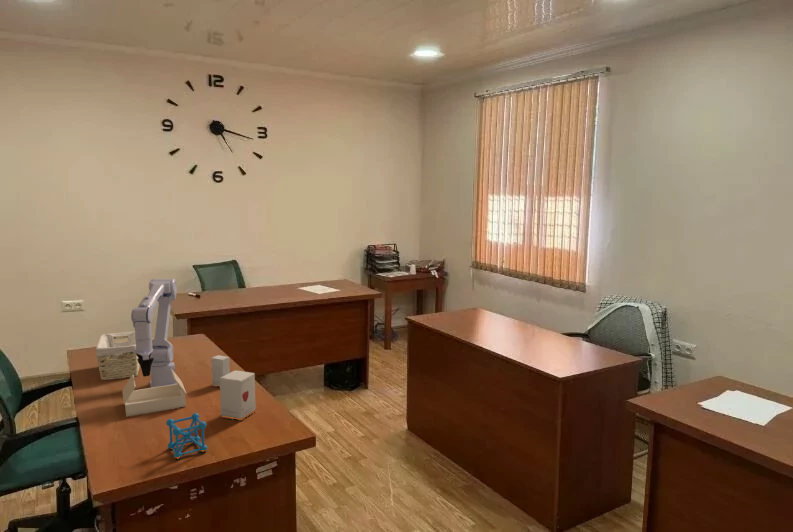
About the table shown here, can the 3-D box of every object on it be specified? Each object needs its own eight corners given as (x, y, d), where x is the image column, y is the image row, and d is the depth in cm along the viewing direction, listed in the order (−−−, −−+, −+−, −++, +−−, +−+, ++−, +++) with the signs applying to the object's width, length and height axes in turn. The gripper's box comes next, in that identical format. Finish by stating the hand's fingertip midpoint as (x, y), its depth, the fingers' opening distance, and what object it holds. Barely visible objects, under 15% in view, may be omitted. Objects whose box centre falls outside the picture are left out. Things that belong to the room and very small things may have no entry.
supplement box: (241, 421, 196) (240, 380, 193) (220, 418, 199) (218, 377, 197) (256, 412, 204) (255, 372, 202) (236, 408, 207) (234, 369, 205)
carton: (181, 394, 220) (180, 383, 220) (185, 407, 208) (185, 395, 207) (124, 403, 211) (123, 391, 210) (126, 417, 199) (125, 405, 198)
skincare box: (230, 384, 231) (229, 356, 229) (223, 388, 227) (222, 359, 225) (219, 382, 234) (218, 354, 232) (212, 385, 230) (210, 357, 228)
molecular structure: (208, 452, 174) (207, 422, 172) (175, 461, 168) (173, 430, 166) (199, 440, 182) (197, 411, 180) (166, 448, 176) (165, 418, 174)
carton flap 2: (180, 382, 220) (181, 381, 220) (185, 394, 207) (186, 394, 208) (170, 368, 217) (171, 368, 217) (174, 380, 205) (175, 379, 205)
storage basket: (139, 377, 239) (137, 344, 236) (96, 382, 233) (94, 348, 230) (142, 361, 261) (140, 330, 258) (103, 365, 255) (100, 333, 252)
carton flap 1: (133, 374, 211) (132, 374, 211) (135, 386, 199) (134, 386, 199) (123, 391, 210) (122, 390, 210) (124, 404, 198) (123, 404, 198)
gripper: (131, 335, 217) (133, 368, 219) (132, 344, 204) (135, 380, 206) (150, 332, 220) (152, 366, 222) (153, 342, 207) (156, 377, 209)
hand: (145, 372), depth 214 cm, fingers open, 7 cm apart
